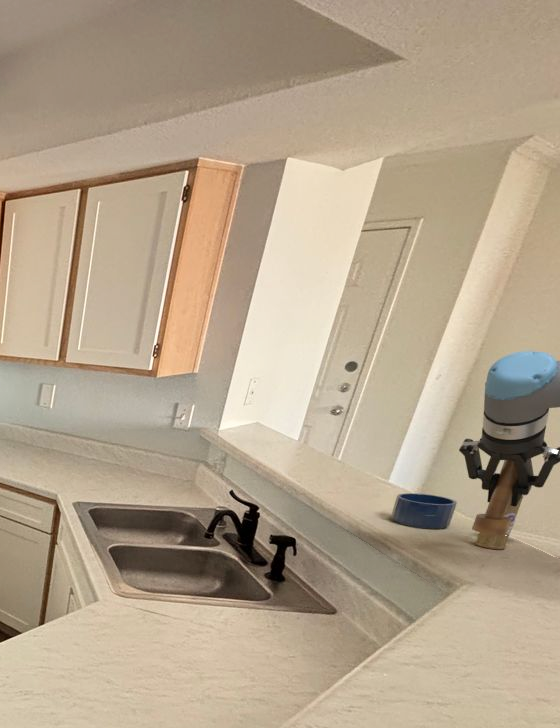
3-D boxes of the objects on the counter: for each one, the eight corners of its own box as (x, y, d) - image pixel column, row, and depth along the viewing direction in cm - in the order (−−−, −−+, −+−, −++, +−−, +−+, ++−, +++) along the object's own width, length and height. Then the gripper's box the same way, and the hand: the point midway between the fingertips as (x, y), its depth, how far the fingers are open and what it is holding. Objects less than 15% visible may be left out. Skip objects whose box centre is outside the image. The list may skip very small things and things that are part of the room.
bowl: (450, 522, 140) (458, 498, 138) (446, 532, 133) (455, 507, 131) (393, 514, 147) (400, 491, 145) (387, 523, 140) (394, 499, 138)
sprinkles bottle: (493, 551, 122) (516, 488, 118) (468, 543, 126) (489, 483, 122) (511, 548, 123) (534, 486, 118) (485, 541, 127) (506, 481, 123)
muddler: (506, 531, 118) (540, 439, 112) (506, 536, 115) (541, 443, 109) (472, 526, 121) (503, 437, 115) (471, 531, 118) (503, 440, 112)
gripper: (444, 436, 110) (443, 505, 124) (572, 448, 97) (555, 523, 111) (461, 405, 111) (458, 477, 125) (591, 412, 98) (571, 491, 112)
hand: (504, 498), depth 118 cm, fingers closed on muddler, 3 cm apart
